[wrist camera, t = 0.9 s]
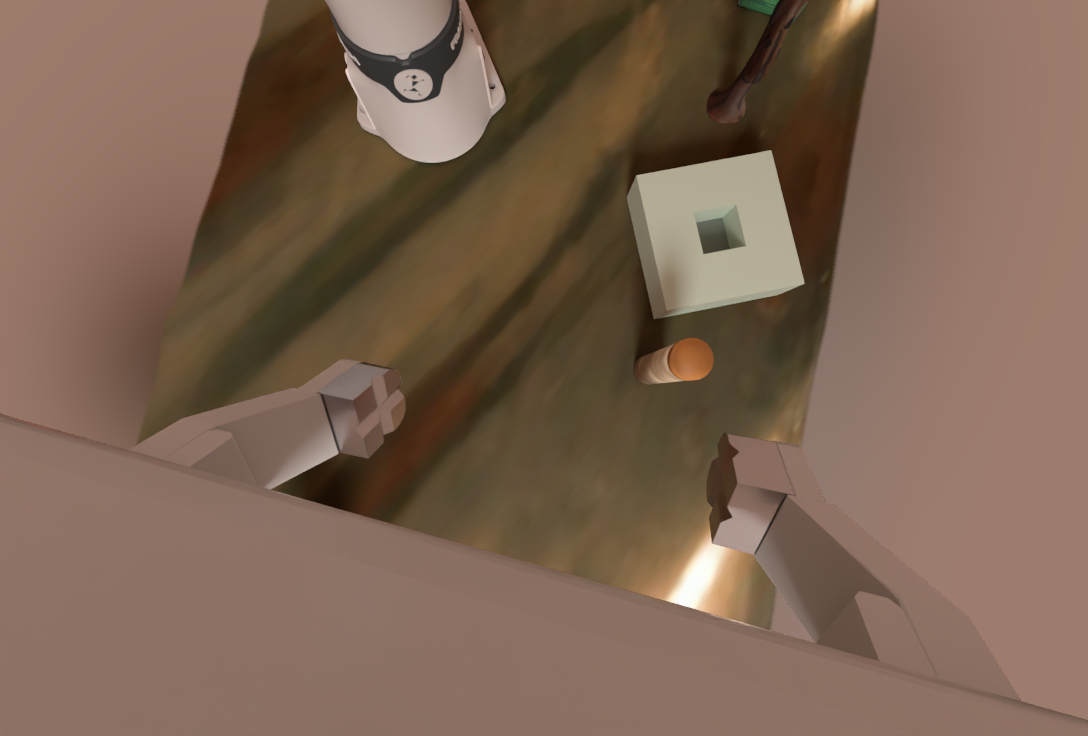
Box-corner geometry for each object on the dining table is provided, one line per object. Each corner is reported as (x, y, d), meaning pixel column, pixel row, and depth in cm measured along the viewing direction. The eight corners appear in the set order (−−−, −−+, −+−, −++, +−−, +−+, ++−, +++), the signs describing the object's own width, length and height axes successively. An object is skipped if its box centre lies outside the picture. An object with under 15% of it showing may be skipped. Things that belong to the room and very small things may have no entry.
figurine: (734, 142, 51) (841, 3, 33) (697, 130, 51) (784, -16, 33) (751, 91, 51) (865, -73, 33) (714, 79, 51) (808, -91, 34)
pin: (630, 357, 49) (667, 342, 35) (659, 352, 49) (708, 334, 35) (636, 387, 48) (676, 383, 34) (666, 381, 49) (717, 375, 35)
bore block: (626, 197, 50) (636, 175, 45) (748, 174, 51) (771, 150, 46) (653, 319, 49) (666, 310, 44) (777, 294, 49) (804, 283, 44)
